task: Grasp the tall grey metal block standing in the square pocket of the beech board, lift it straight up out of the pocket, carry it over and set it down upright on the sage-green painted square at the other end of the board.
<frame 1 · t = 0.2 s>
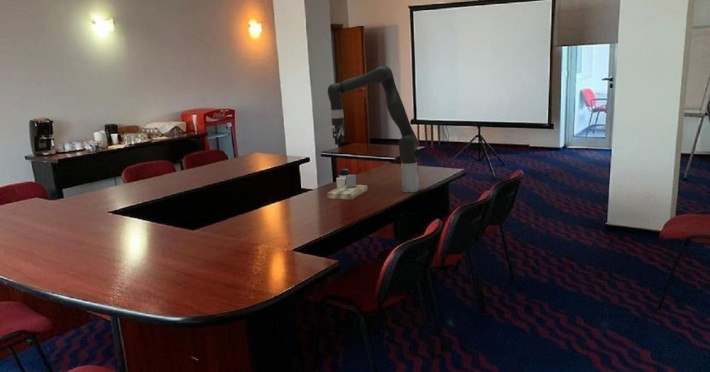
hand: (339, 143, 345), 28 cm above the table, fingers open, 8 cm apart
metal block: (351, 191, 337), point 1 cm above the table, touching pocket board
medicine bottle: (345, 188, 352), on the table
pocket board: (347, 195, 333), on the table
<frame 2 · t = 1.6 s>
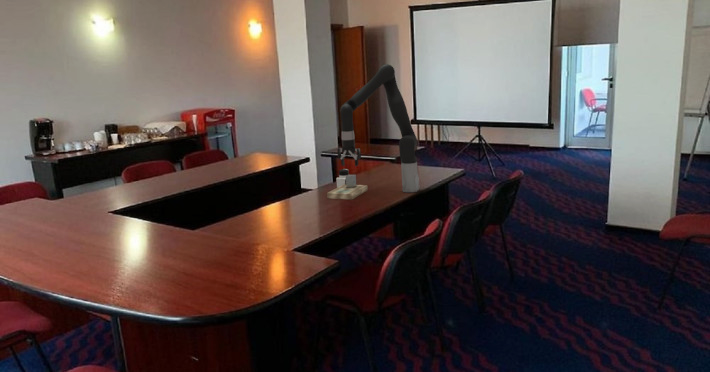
hand: (349, 165, 334), 17 cm above the table, fingers open, 8 cm apart
nothing on the table moved.
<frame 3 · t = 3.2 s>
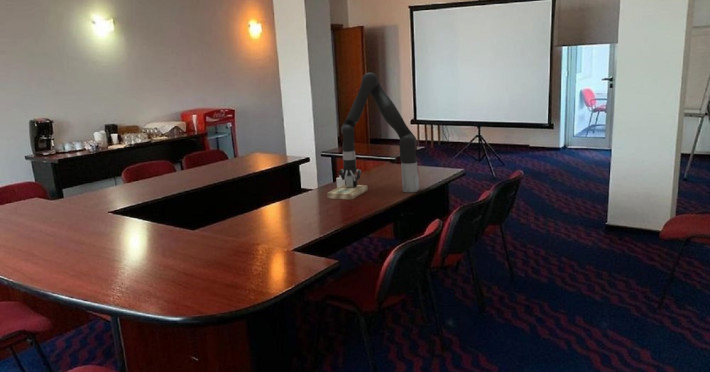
hand: (351, 186, 336), 4 cm above the table, fingers closed on metal block, 4 cm apart
metal block: (351, 191, 337), point 1 cm above the table, touching gripper, pocket board
everything else where it was.
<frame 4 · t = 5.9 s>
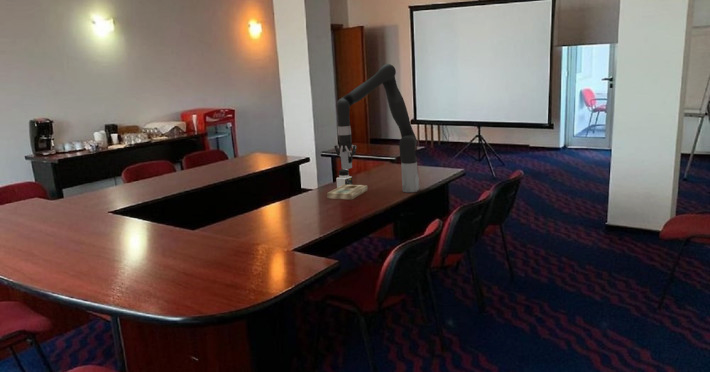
hand: (346, 162, 330), 20 cm above the table, fingers closed on metal block, 4 cm apart
metal block: (346, 168, 331), point 16 cm above the table, touching gripper
everything else where it was.
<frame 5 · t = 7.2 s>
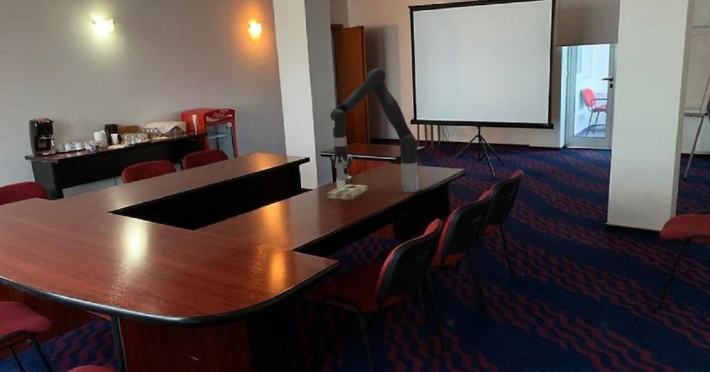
hand: (342, 173, 325), 14 cm above the table, fingers closed on metal block, 4 cm apart
metal block: (342, 179, 325), point 11 cm above the table, touching gripper
everything else where it was.
when the fingers open (9 cm above the table, at t = 8.4 s): metal block drops 1 cm, resting on pocket board.
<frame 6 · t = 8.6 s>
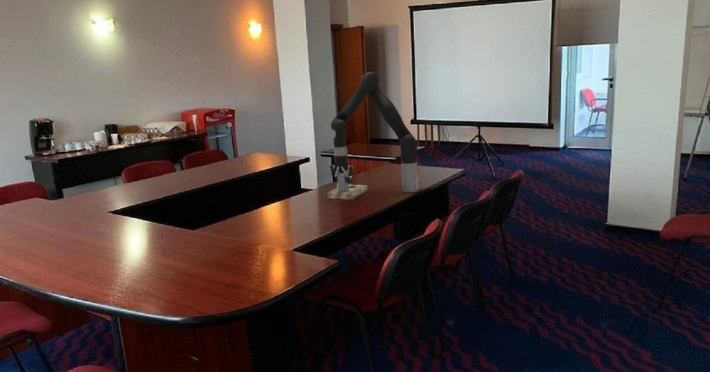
hand: (342, 182, 326), 9 cm above the table, fingers open, 6 cm apart
metal block: (343, 191, 327), point 4 cm above the table, touching pocket board
everything else where it was.
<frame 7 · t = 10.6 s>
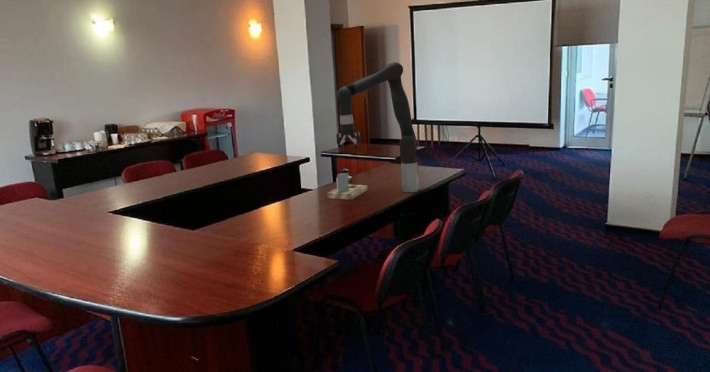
hand: (349, 150, 325), 27 cm above the table, fingers open, 8 cm apart
nothing on the table moved.
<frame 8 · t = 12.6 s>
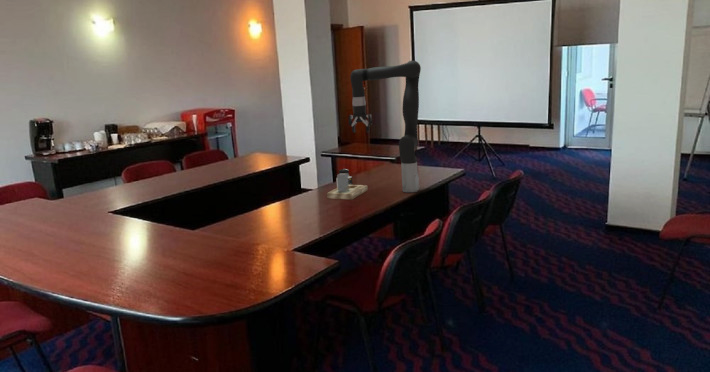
hand: (361, 132, 330), 36 cm above the table, fingers open, 8 cm apart
nothing on the table moved.
at the end: metal block inside the target area on the pocket board (0.1 cm from its centre), point 4.2 cm above the pocket board's base; metal block tilted 0°; the gripper is holding nothing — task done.
